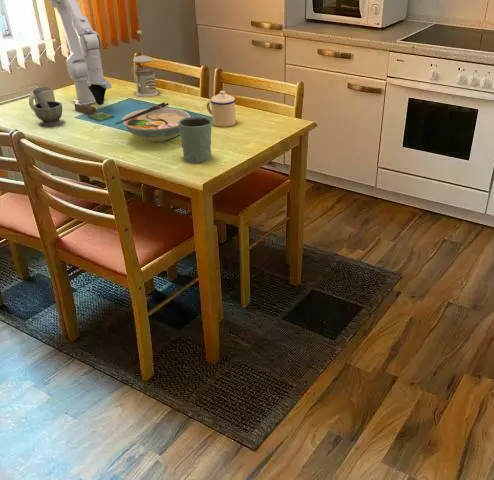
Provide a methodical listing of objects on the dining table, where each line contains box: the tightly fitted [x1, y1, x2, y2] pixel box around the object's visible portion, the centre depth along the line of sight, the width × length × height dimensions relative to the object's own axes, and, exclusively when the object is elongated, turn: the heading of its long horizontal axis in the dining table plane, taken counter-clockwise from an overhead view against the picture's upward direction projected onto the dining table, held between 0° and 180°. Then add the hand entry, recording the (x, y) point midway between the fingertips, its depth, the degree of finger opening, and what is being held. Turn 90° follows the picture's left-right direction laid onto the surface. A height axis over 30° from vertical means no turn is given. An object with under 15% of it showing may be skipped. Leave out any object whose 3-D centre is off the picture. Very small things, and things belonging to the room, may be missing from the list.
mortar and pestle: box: [32, 89, 63, 128], centre depth 211 cm, size 11×9×12 cm
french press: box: [130, 29, 160, 98], centre depth 239 cm, size 10×12×25 cm
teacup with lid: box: [206, 90, 237, 128], centre depth 213 cm, size 12×9×12 cm
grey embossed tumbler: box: [178, 116, 213, 164], centre depth 184 cm, size 10×10×12 cm
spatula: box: [73, 102, 114, 122], centre depth 222 cm, size 18×6×3 cm, turn 52°
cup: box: [28, 86, 56, 113], centre depth 221 cm, size 7×10×9 cm
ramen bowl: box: [114, 102, 191, 143], centre depth 199 cm, size 25×23×8 cm
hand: (100, 104), depth 226 cm, fingers closed
